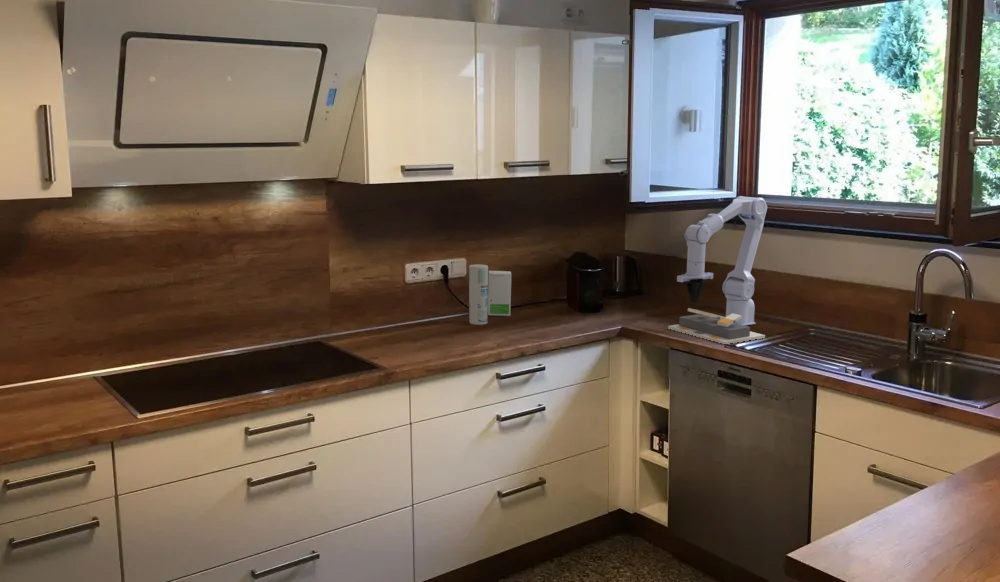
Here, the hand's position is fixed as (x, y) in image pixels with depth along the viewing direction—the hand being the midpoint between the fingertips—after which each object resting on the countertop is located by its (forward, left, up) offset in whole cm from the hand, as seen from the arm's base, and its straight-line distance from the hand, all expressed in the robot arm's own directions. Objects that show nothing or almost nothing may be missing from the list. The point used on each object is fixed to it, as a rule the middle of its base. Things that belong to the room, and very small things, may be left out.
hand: (694, 301), depth 288 cm
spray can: (+56, -46, -10) cm, 74 cm away
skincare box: (+42, -55, -10) cm, 70 cm away
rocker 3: (-3, +14, -4) cm, 15 cm away
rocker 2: (-3, +7, -4) cm, 9 cm away
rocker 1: (-3, 0, -4) cm, 5 cm away
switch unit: (-4, +7, -10) cm, 13 cm away
